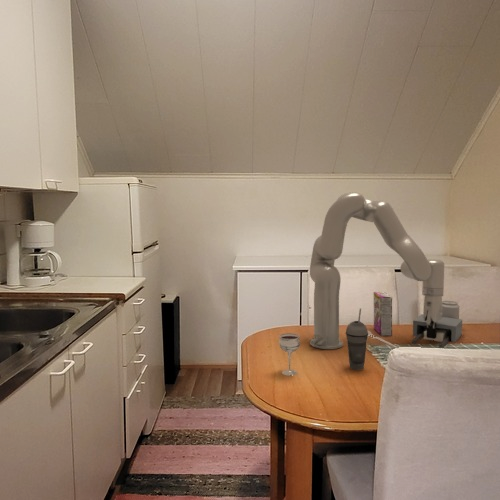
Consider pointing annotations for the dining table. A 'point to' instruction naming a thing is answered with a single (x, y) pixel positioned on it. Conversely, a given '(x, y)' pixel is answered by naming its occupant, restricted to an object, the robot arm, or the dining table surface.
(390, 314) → the candy bar box
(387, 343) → the fork
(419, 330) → the low shelf
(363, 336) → the beverage cup
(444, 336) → the cream rectangular block
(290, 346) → the wineglass
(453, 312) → the can
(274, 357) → the dining table surface
